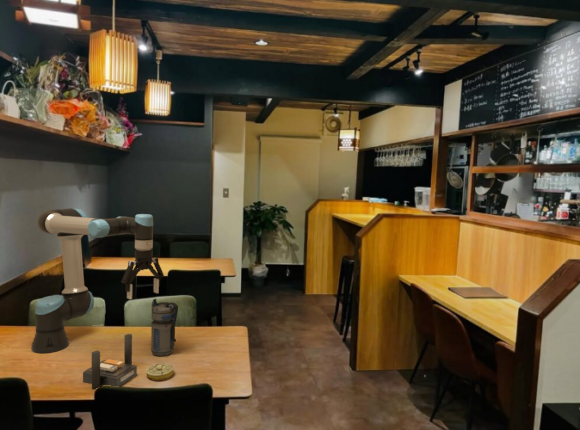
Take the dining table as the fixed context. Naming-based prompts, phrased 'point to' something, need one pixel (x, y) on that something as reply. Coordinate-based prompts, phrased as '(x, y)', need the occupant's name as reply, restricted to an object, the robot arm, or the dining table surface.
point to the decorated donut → (159, 371)
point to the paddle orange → (114, 362)
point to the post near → (95, 369)
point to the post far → (128, 349)
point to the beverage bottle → (163, 327)
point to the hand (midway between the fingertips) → (143, 295)
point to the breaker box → (112, 375)
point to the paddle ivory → (107, 367)
